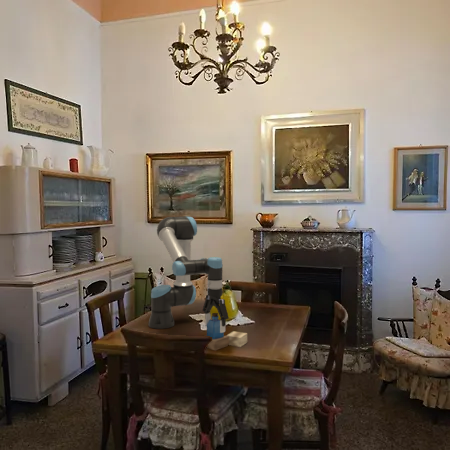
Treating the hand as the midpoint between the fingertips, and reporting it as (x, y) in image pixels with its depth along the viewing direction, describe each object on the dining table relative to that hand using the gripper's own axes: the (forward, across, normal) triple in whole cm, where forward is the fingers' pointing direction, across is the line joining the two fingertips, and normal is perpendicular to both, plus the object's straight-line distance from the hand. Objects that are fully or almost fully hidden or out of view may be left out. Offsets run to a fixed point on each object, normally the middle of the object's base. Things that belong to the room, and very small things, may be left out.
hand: (215, 329), depth 220 cm
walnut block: (+9, 0, 0) cm, 9 cm away
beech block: (+9, +4, +11) cm, 15 cm away
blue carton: (+4, 0, 0) cm, 4 cm away
